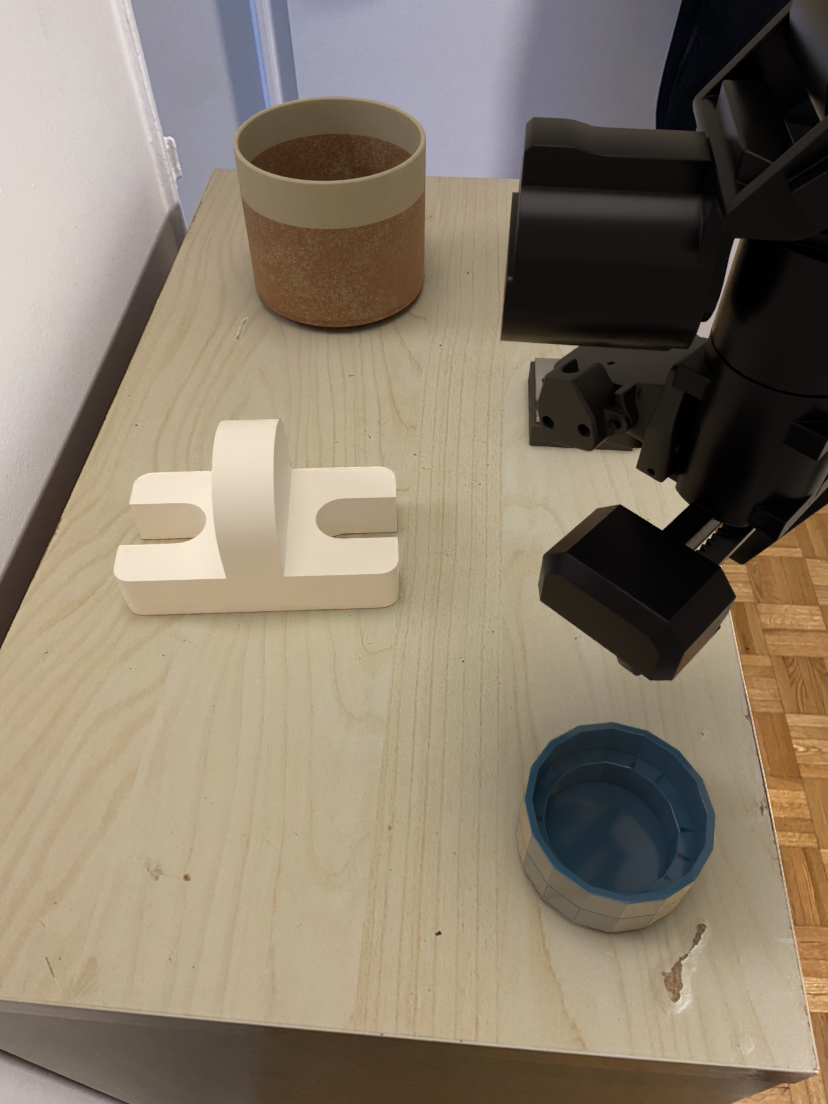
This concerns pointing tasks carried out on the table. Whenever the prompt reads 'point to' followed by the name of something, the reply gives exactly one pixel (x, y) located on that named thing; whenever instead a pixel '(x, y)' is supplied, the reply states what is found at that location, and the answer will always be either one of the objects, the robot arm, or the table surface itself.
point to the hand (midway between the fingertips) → (684, 610)
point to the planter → (334, 208)
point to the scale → (534, 387)
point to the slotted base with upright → (260, 532)
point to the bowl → (614, 826)
